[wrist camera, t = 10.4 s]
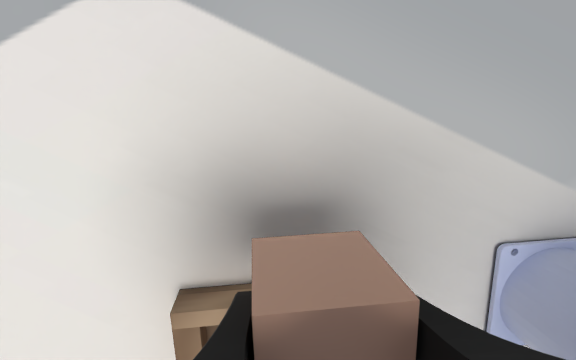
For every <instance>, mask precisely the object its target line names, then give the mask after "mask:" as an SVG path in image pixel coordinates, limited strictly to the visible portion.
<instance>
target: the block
mask: <svg viewBox="0 0 576 360" xmlns="http://www.w3.org/2000/svg"><path fill="white" fill-rule="evenodd" d="M419 305H420V300H419V299H418V298H417V296H416V295H415V294H414V293H413V292H412V291H411V290H410V288H409V287H408V286H407V285H406V284H405V283H404V282H403V280H402V279H401V278H400V277H399V276H398V275H397V274H396V272H395V271H394V270H393V269H392V268H391V267H390V265H389V264H388V263H387V262H386V261H385V260H384V259H383V257H382V256H381V255H380V254H379V253H378V252H377V251H376V249H375V248H374V247H373V246H372V245H371V244H370V243H369V241H368V240H367V239H366V238H365V237H364V236H363V235H362V233H361V232H360V231H349V232H336V233H322V234H308V235H294V236H280V237H266V238H252V328H253V344H254V360H416V348H417V334H418V319H419Z"/></svg>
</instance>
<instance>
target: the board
mask: <svg viewBox="0 0 576 360" xmlns="http://www.w3.org/2000/svg"><path fill="white" fill-rule="evenodd" d="M242 291H252V283H251V284H239V285H228V286H216V287H204V288H193V289H181V290H179V293H178V295H177V298H176V300H175V303H174V305H173V308H172V310H171V313H170V317H171V325H172V332H173V340H174V348H175V355H176V360H193V359H194V358H195V357H196V355H197V354H198V353H199V352H200V350H201V349H202V348H203V347H204V345H205V344H206V343H207V341H208V340H209V338H210V337H211V336H212V334H213V333H214V331H215V330H216V329H217V327H218V325H219V324H220V322H221V321H222V319H223V317H224V316H225V314H226V312H227V310H228V309H229V307H230V305H231V303H232V301H233V299H234V296H235V294H236V293H237V292H242Z"/></svg>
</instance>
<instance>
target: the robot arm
mask: <svg viewBox="0 0 576 360" xmlns="http://www.w3.org/2000/svg"><path fill="white" fill-rule="evenodd" d="M513 249H514V250H513ZM512 250H513V252H512V253H511V251H512ZM416 296H417V295H416ZM417 298H418V299H419V300H420V305H419V319H418V334H417V348H416V360H576V238H569V239H557V240H544V241H532V242H519V243H506V244H502V245H500V246H499V247H498V249H497V254H496V262H495V270H494V277H493V285H492V293H491V300H490V308H489V316H488V323H487V331H486V332H485V331H483V330H481V329H479V328H476V327H474V326H472V325H470V324H468V323H466V322H463V321H461V320H459V319H458V318H456V317H454V316H452V315H450V314H448V313H446V312H444V311H442V310H441V309H439V308H437V307H435V306H434V305H432V304H430V303H428V302H427V301H425V300H423V299H422V298H420V297H418V296H417ZM521 345H527V346H528V347H530V348H531V349H530V348H527V347H524V346H521ZM193 360H254V344H253V328H252V291H242V292H237V293H236V294H235V296H234V299H233V301H232V303H231V305H230V307H229V309H228V310H227V312H226V314H225V316H224V317H223V319H222V321H221V322H220V324H219V325H218V327H217V329H216V330H215V331H214V333H213V334H212V336H211V337H210V338H209V340H208V341H207V343H206V344H205V345H204V347H203V348H202V349H201V350H200V352H199V353H198V354H197V355H196V357H195V358H194V359H193Z"/></svg>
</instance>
